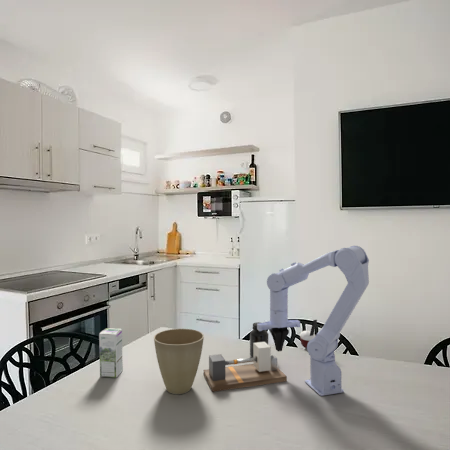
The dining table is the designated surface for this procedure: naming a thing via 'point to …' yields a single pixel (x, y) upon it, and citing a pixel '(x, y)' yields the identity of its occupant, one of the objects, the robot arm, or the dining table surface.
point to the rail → (273, 361)
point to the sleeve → (262, 356)
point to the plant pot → (178, 357)
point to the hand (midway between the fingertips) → (278, 350)
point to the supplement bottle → (257, 337)
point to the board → (244, 377)
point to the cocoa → (308, 335)
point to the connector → (217, 367)
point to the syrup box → (110, 352)
